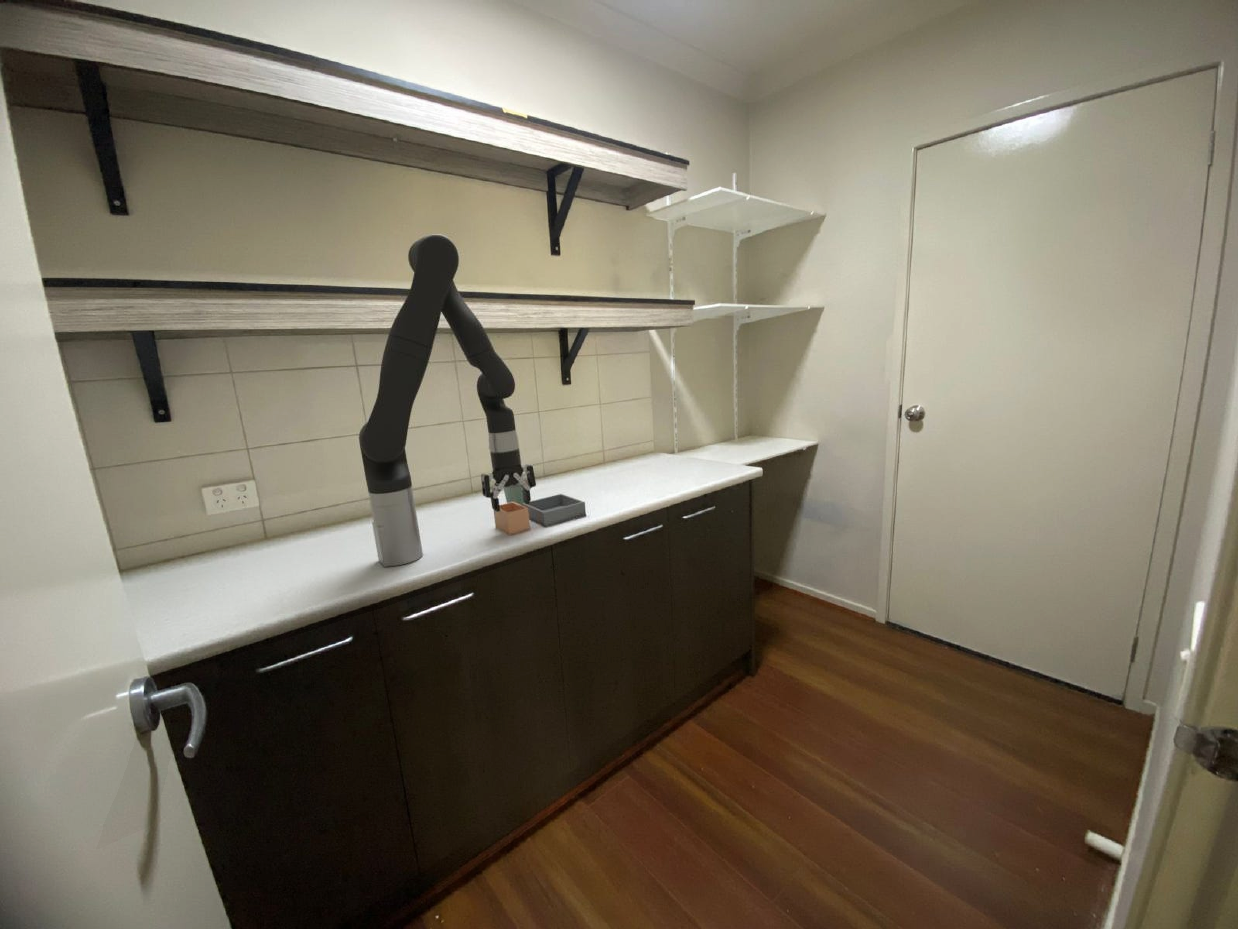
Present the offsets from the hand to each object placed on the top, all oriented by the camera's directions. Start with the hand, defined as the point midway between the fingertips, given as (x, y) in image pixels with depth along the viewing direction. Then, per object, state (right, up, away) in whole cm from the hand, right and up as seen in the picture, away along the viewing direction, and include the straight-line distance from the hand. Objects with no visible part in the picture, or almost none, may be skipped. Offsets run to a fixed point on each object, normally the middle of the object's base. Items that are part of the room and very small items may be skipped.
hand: (512, 507), depth 131 cm
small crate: (0, -6, +1) cm, 6 cm away
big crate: (+10, -3, +10) cm, 14 cm away
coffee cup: (-2, -3, +17) cm, 18 cm away
